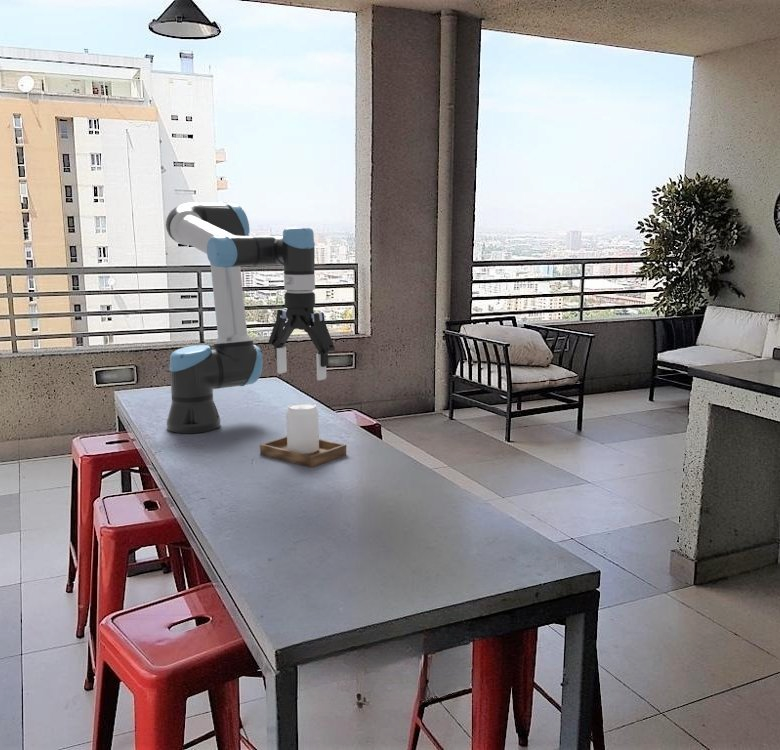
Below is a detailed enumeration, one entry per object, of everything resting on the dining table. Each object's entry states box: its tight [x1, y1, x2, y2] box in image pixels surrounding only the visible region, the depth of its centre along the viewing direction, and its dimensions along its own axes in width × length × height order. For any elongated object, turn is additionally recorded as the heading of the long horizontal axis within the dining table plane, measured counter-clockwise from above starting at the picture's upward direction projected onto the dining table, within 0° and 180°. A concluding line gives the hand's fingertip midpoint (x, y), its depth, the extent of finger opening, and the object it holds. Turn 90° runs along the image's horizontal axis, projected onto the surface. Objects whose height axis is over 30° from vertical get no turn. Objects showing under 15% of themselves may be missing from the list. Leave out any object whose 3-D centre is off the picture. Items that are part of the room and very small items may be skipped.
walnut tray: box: [259, 435, 347, 468], centre depth 190 cm, size 18×13×3 cm
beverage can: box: [285, 402, 320, 455], centre depth 189 cm, size 8×8×12 cm
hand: (301, 376), depth 186 cm, fingers open, 13 cm apart
